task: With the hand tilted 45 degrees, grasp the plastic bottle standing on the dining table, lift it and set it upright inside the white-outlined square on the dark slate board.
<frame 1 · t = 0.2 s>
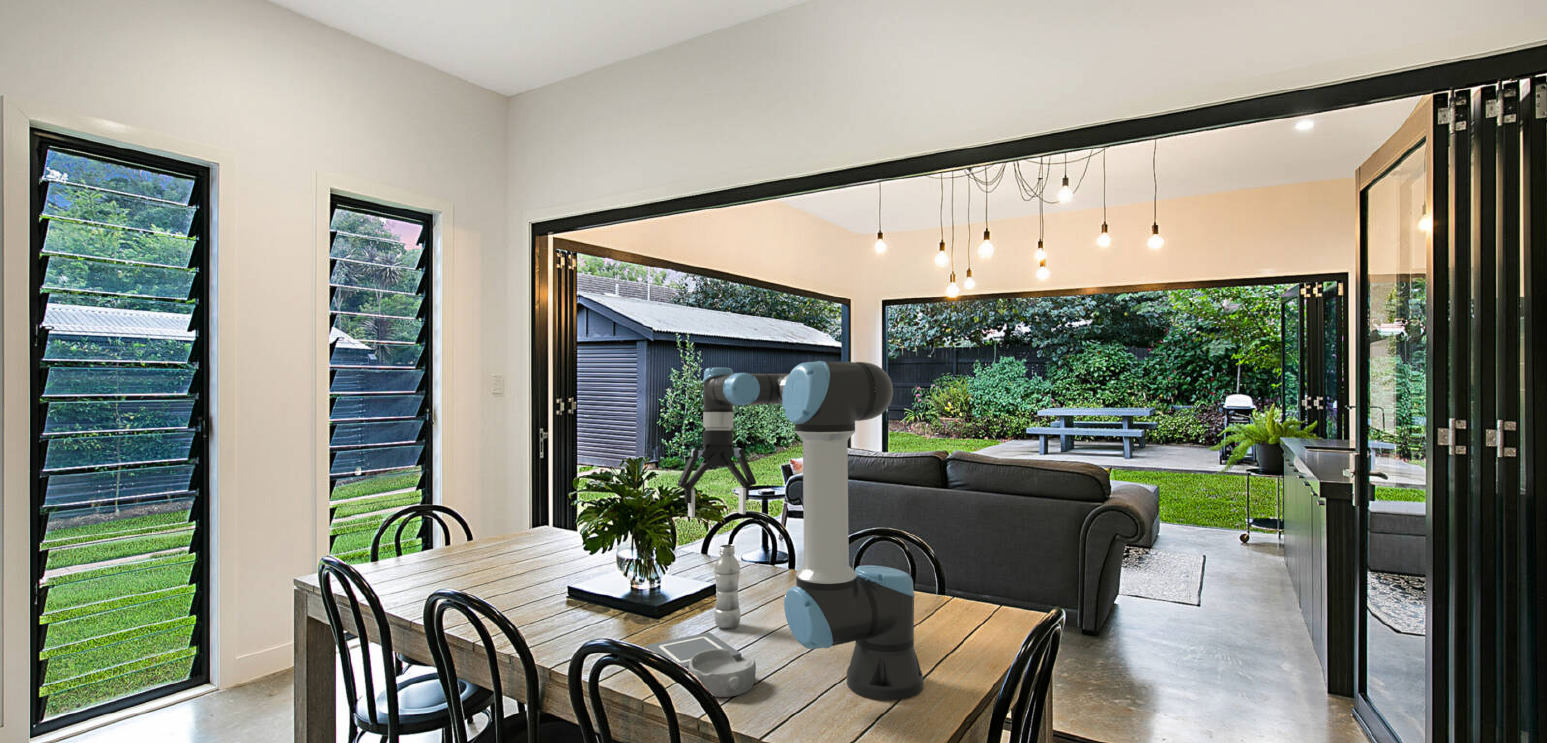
hand: (717, 515, 182), 28 cm above the table, tool pointing down, fingers open, 13 cm apart
slate board: (692, 654, 164), on the table
plastic bottle: (727, 628, 182), on the table
dish: (721, 687, 147), on the table
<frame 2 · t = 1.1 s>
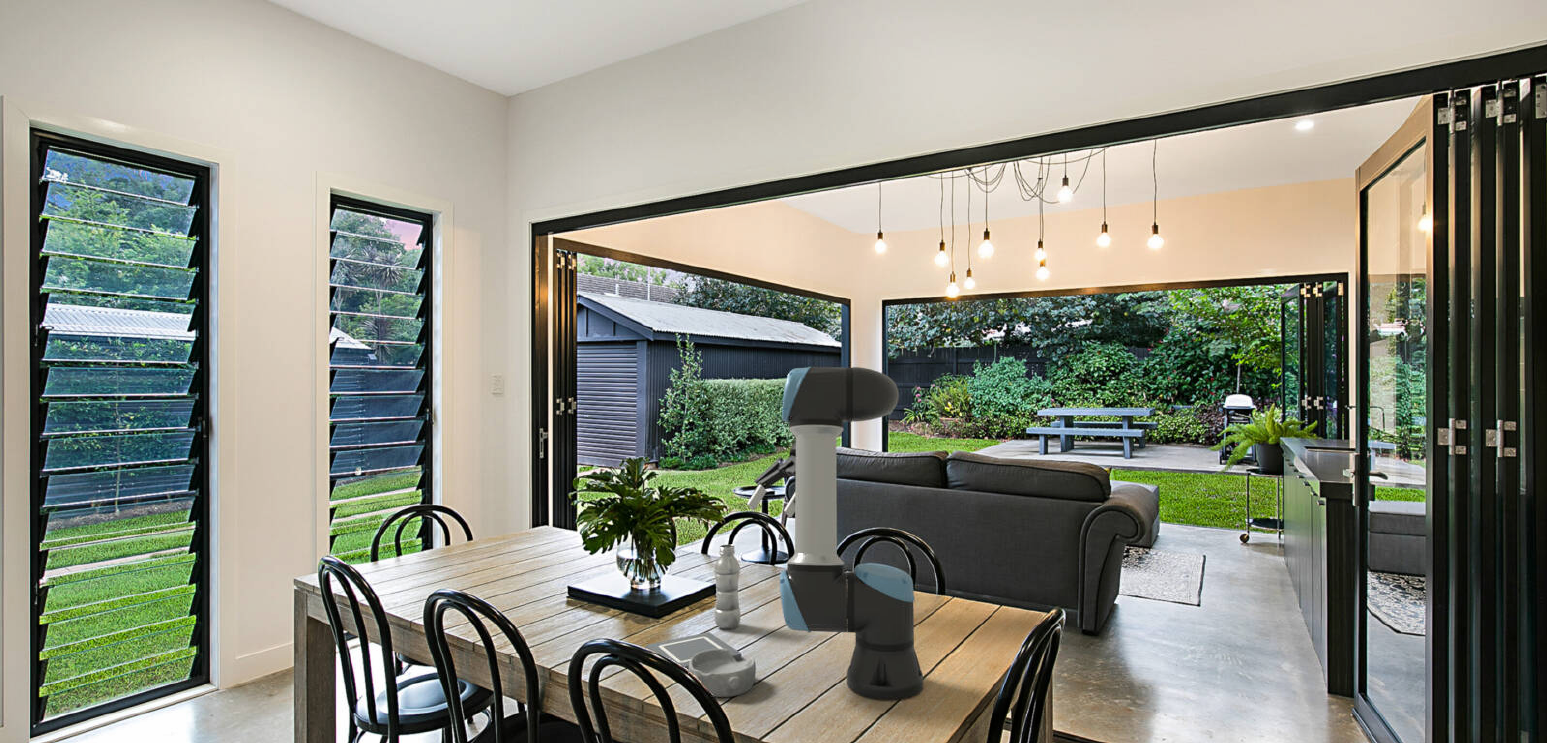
hand: (768, 510, 189), 27 cm above the table, tool tilted 45°, fingers open, 13 cm apart
nothing on the table moved.
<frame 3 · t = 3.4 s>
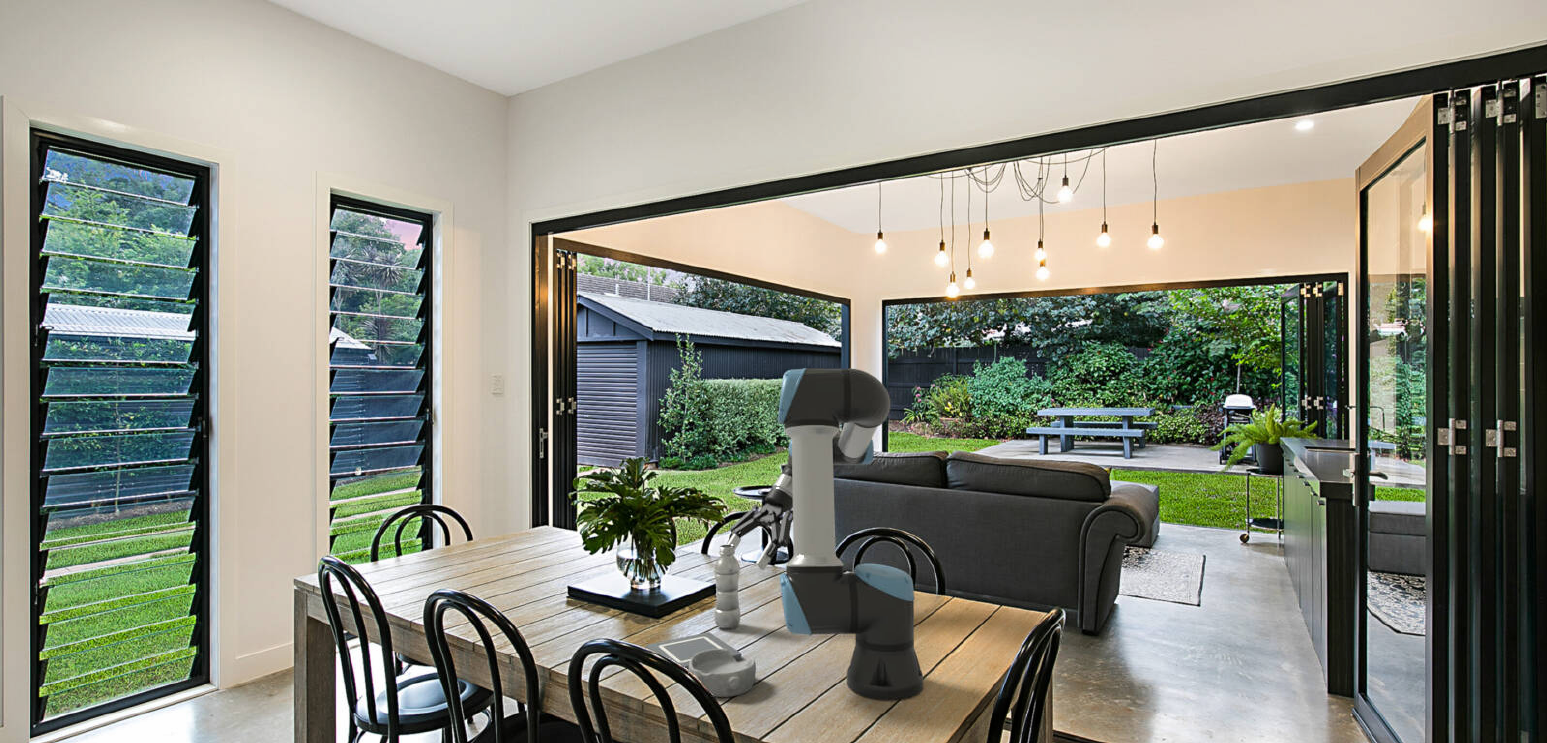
hand: (741, 562, 186), 15 cm above the table, tool tilted 45°, fingers open, 13 cm apart
nothing on the table moved.
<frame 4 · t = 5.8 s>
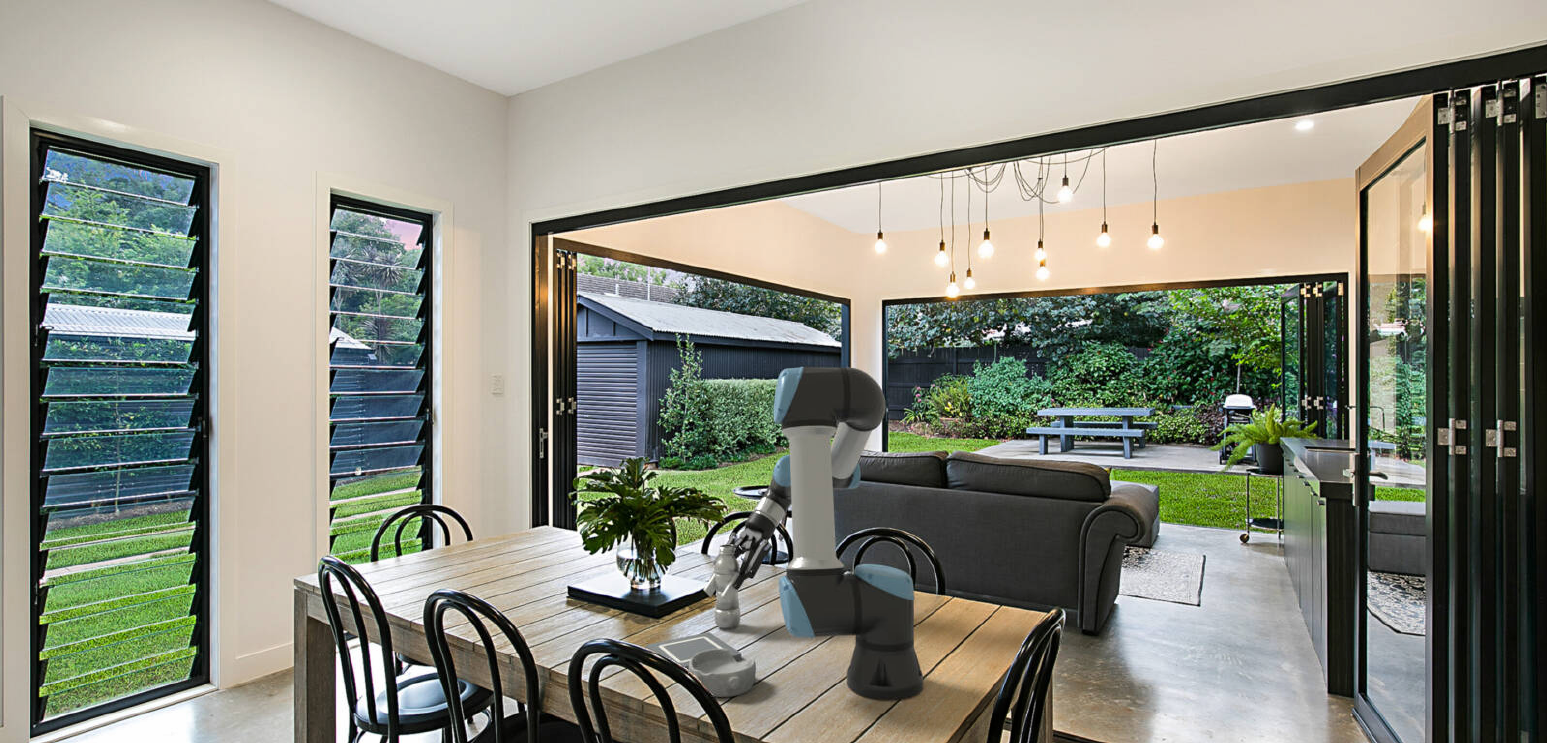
hand: (716, 596, 179), 8 cm above the table, tool tilted 45°, fingers closed on plastic bottle, 6 cm apart
plastic bottle: (727, 627, 182), on the table, touching gripper
everything else where it was.
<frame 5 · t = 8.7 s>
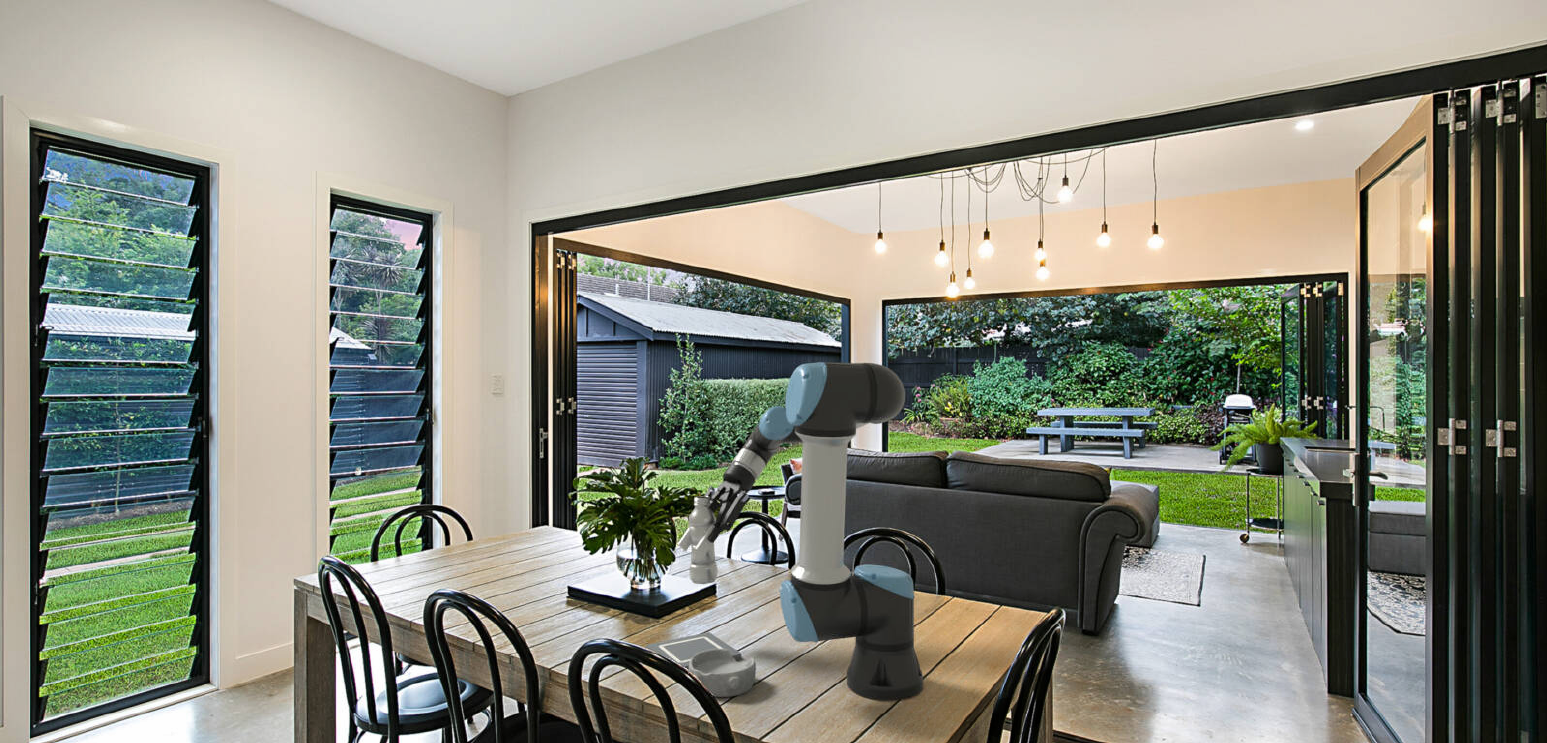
hand: (690, 549, 168), 22 cm above the table, tool tilted 45°, fingers closed on plastic bottle, 6 cm apart
plastic bottle: (703, 584, 171), point 14 cm above the table, touching gripper
everything else where it was.
when the fingers open (11 cm above the table, at t = 11.7 s): plastic bottle drops 1 cm, resting on slate board.
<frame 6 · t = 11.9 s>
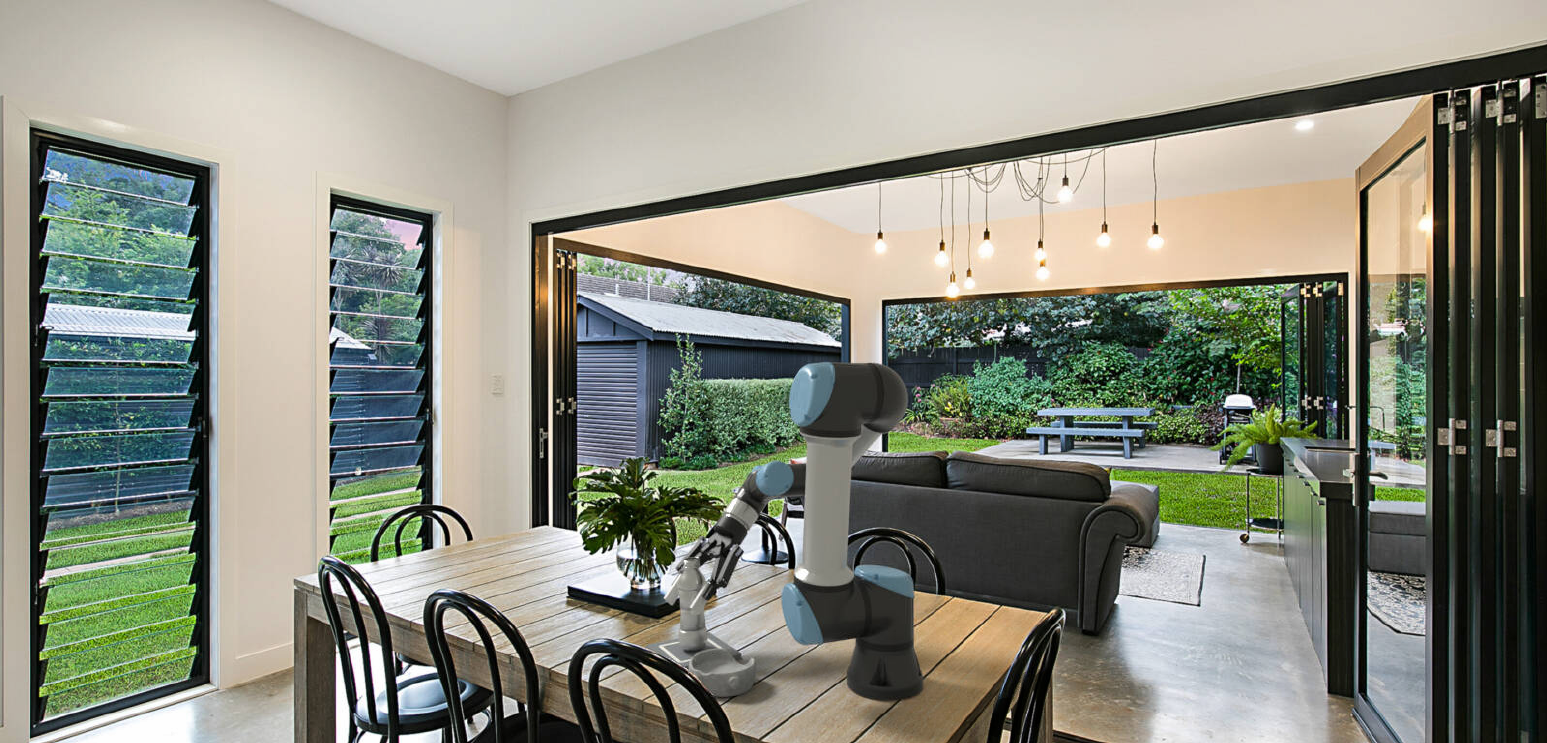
hand: (680, 606, 161), 11 cm above the table, tool tilted 45°, fingers open, 9 cm apart
plastic bottle: (693, 650, 163), point 1 cm above the table, touching slate board
everything else where it was.
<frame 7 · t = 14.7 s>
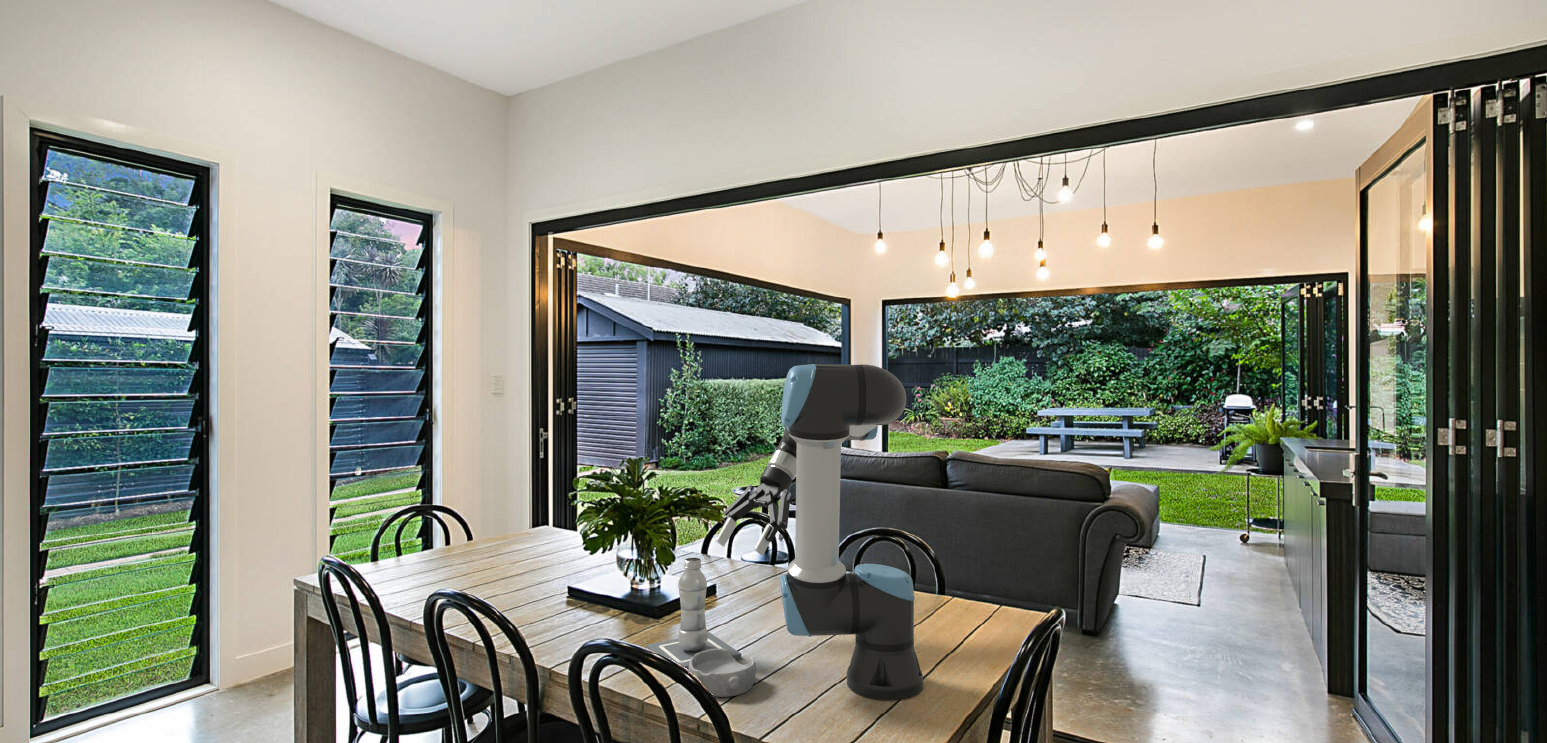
hand: (738, 548, 172), 22 cm above the table, tool tilted 40°, fingers open, 13 cm apart
nothing on the table moved.
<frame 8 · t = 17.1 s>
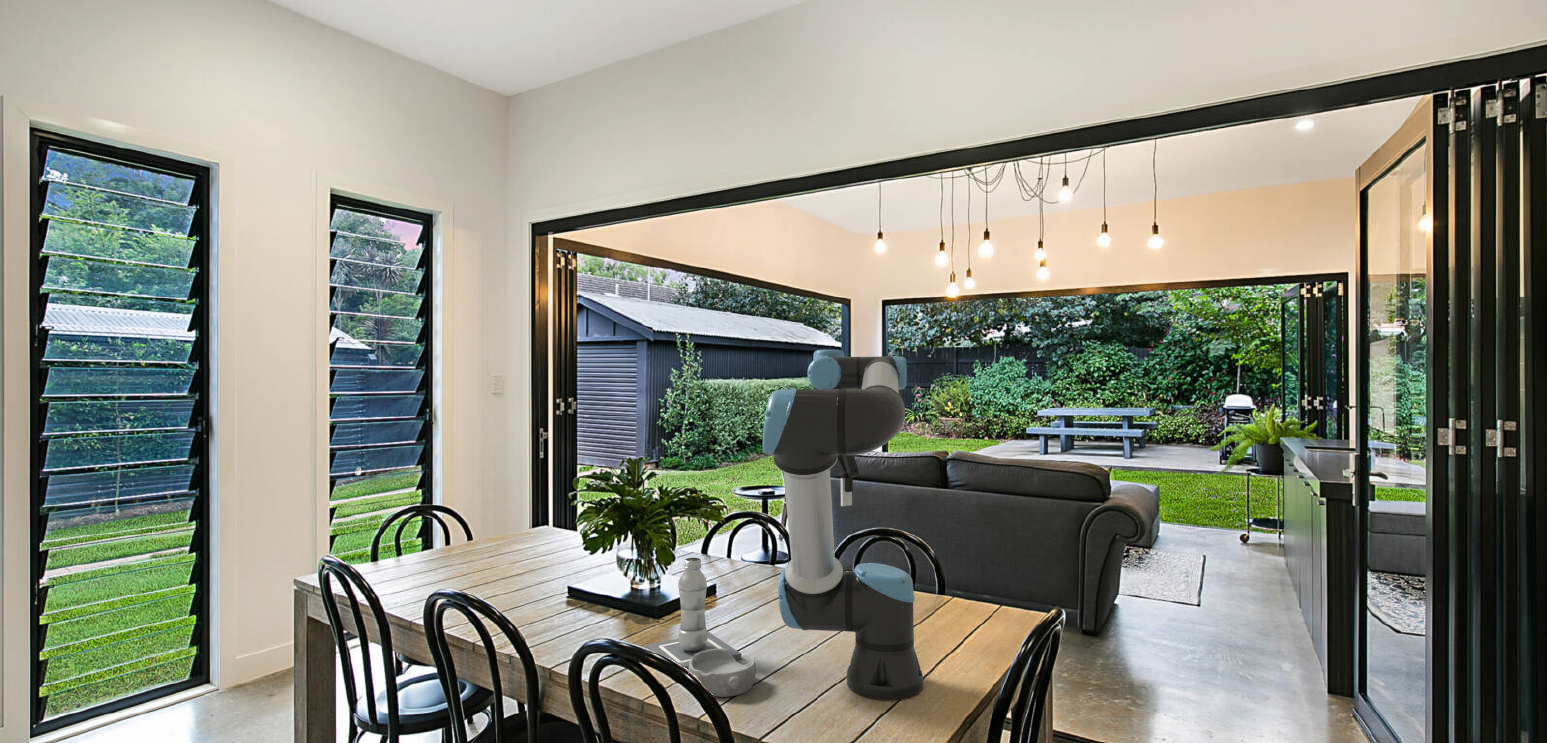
hand: (829, 501, 177), 32 cm above the table, tool pointing down, fingers open, 13 cm apart
nothing on the table moved.
at the end: plastic bottle inside the target area on the slate board (0.1 cm from its centre), point 1.0 cm above the slate board's base; plastic bottle tilted 0°; the gripper is holding nothing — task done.
